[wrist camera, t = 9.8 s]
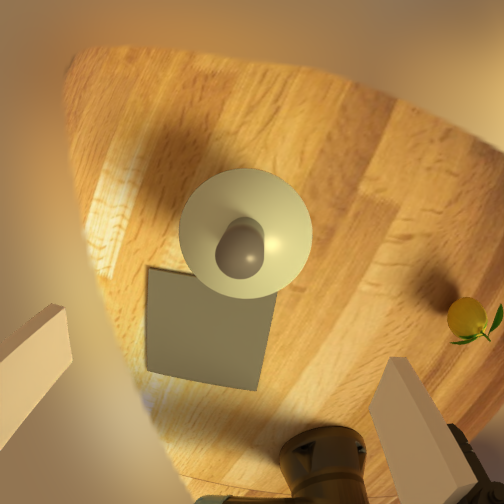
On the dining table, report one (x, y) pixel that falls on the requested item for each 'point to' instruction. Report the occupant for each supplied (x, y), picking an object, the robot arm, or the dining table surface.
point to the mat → (205, 331)
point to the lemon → (470, 320)
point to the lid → (245, 233)
